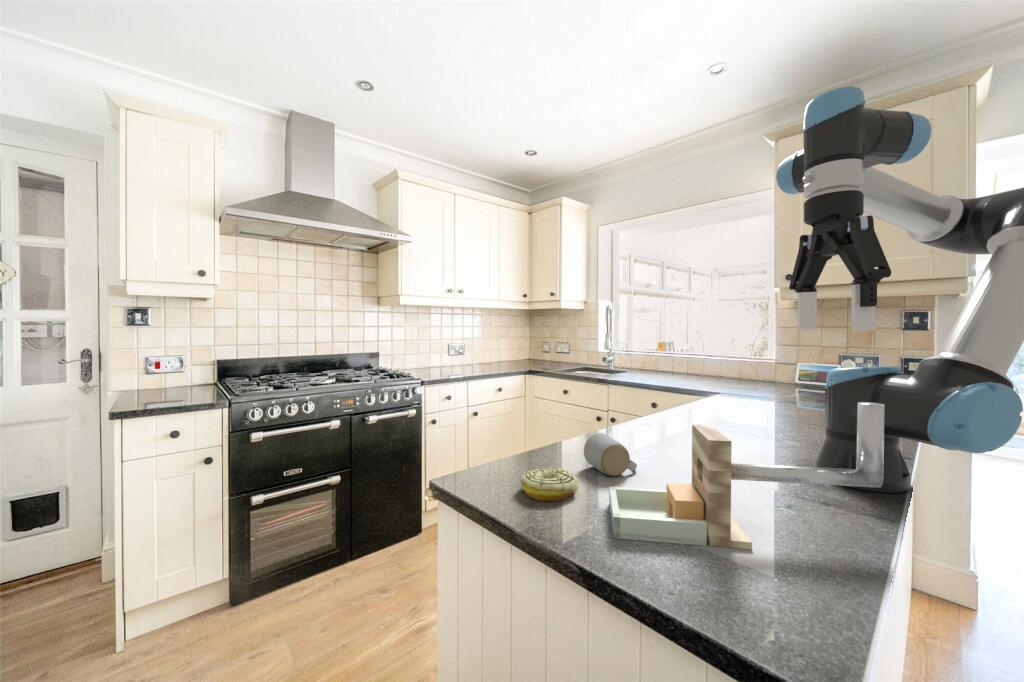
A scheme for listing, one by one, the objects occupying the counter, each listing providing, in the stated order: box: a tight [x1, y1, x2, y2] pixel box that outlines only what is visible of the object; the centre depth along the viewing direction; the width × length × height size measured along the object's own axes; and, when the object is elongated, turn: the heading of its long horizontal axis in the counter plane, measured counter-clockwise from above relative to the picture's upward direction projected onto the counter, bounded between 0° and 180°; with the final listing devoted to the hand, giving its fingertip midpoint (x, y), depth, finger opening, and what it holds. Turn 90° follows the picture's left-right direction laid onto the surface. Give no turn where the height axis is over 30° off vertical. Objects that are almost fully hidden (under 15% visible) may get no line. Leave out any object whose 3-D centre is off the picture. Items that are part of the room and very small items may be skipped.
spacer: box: [666, 482, 704, 521], centre depth 66 cm, size 4×7×4 cm, turn 170°
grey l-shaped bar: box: [731, 402, 885, 488], centre depth 63 cm, size 22×3×12 cm, turn 80°
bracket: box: [691, 424, 753, 550], centre depth 65 cm, size 6×12×15 cm, turn 170°
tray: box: [608, 486, 708, 547], centre depth 67 cm, size 13×12×3 cm
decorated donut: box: [520, 467, 579, 502], centre depth 80 cm, size 10×11×4 cm
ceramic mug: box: [583, 432, 638, 477], centre depth 91 cm, size 11×8×8 cm
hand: (832, 330), depth 67 cm, fingers open, 13 cm apart
